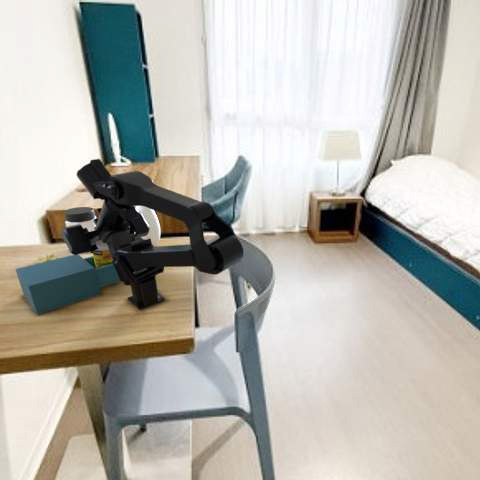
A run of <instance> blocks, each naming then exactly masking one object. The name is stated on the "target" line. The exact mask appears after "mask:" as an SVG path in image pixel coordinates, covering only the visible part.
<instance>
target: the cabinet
mask: <svg viewBox="0 0 480 480" xmlns="http://www.w3.org/2000/svg"><path fill="white" fill-rule="evenodd" d="M15 273H16V275H17V278H18V282H19V285H20V287H21V290H22V293H23V296H24V297H25V299H26V300H27V302H28V303H29V305H30V306H31V308H32V309H33V311H34V312H35V314H36V315H37V316H39V315H41V314H45V313H48V312H50V311H53V310H56V309H59V308H64V307H65V306H70V305H72V304H75V303H78V302H81V301H85V300H88V299H91V298H94V297H97V296H100V295H101V289H100V288H99V285H98V280H97V276H96V271H95V268H94V267H93V266H92V265H91V264H89V263H88V262H87V261H86V260H84V257H82V256H81V254H77V255H74V254H71V255H68V256H67V255H66V256H63V257H59V258H55V259H51V260H47V261H43V262H38V263H35V264H31V265H26V266H23V267H19V268H15Z"/></svg>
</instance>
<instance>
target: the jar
mask: <svg viewBox="0 0 480 480" xmlns="http://www.w3.org/2000/svg"><path fill="white" fill-rule="evenodd" d="M63 214H64V219H65V227H68V226H73V225H77V224H80V225H82V227H83V228H87V229H88V231H89V232H91V231H95V229H94V227H96V225H95V223H94V222H93V221H94V219H96V218H97V216H96V213H95V209H94V208H93V207H90V206H78V207H72V208H68V209H66V210H64V211H63Z"/></svg>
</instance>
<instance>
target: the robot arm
mask: <svg viewBox="0 0 480 480" xmlns="http://www.w3.org/2000/svg"><path fill="white" fill-rule="evenodd" d="M76 177H77V178H78V180H79V181H80V182H81V184H82V185H83V186H84V188H85V190H86V191H87V192H88V193H89V195H90V196H91V197H92V199H93V200H99V199H100V200H101V201H103V202H102V205H101V207H100V208H96V213H97V215H98V217H96V219H94V221H93V222H94V223H95V225H96V227H94V229H95V231H91V232H89V231H88V229H87V228H83V227H82V225H80V224H77V225H73V226H68V227H66V226H63V228H62V230H61V233H60V236H61V237H62V239H63V241H64V244H65V245H66V247H67V248H68V250H69V252H70V253H71V255H77V254H78V255H82V254H84V253H89V254H93V251H94V250H97V249H98V247H97V245H96V243H97V241H100V240H102V242H103V243H107V245H108V248H109V251H110V253H111V257H112V258H113V264H114V267H115V269H116V271H117V274H118V276H119V278H120V281H119V282H122V283H123V286H130V290H131V296H129V297H127V301H128V302H130V304H132V305H133V306H135V308H136V309H138V310H143V309H146V308H149V307H151V306H154V305H156V304H159V303H162V302H164V301H165V302H166V298H165V297H164V296H163V295H162V294H160V293H159V290H158V289H159V288H158V283H157V275H160V274H162V273H164V272H165V271H164V270H165V268H186V267H187V268H191V267H192V268H195V269H196V270H197V271H198V272H200V273H204V274H208V275H212V276H213V275H214V276H215V275H219V274H222V273H223V272H224V271H226V270H228V269H230V268H231V267H233V266H234V265H237V264H238V263H240V262H241V261H242V259H243V257H244V248H243V245H242V243H241V241H240V239H239V238H238V236H237V235H236V233H235V231H234V229H233V228H232V226H231V225H230V224H229V223H228V222H226V221H225V220H224V219H223V218H222V217H220V216H219V215H218V214H217V212H216V211H215V209H214V207H213V206H212V204H210V203H209V202H207V201H202V200H201V201H200V200H197V199H195V198H192V197H189V196H187V195H184V194H181V193H178V192H176V191H173V190H170V189H168V188H165V187H162V186H159V185H157V184H156V183H154V181H153V179H152V178H151V177H150V176H148V175H147V174H145V173H144V172H142V171H140V170H133V171H127V172H123V173H117V174H111V173H110V172H109V170H108V168H106V166H105V165H104V163H103V161H102V160H101V159H100V158H95V159H90V161H89V163H87V164H85V165H83V166H82V167H80V169H78V170H77V172H76ZM136 206H145V207H147V208H150V209H152V210H154V212H157V213H159V214H162V215H165V216H167V217H169V218H172V219H175V220H176V221H179V222H181V223H183V224H185V227H186V228H187V230H188V236H189V244H175V245H161V246H160V245H159V246H158V245H157V246H156V245H155V246H154V245H153V244H152V242H151V238H149V239H146V240H145V239H142V238H141V237H143V236H147V235H148V233H149V230H150V228H149V225H148V224H147V222H146V220H145V219H144V217H143V215H142V214H141V213H140V212H138V211H137V209H136ZM203 225H205V226H206V227H207V228H208V229H210V230H211V231H212V232H213V233H215V234H216V235H217V236H218V237H216V238H213V239H211V240H207V241H206V240H205V236H204V235H205V234H204V228H203Z"/></svg>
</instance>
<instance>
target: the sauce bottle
mask: <svg viewBox="0 0 480 480" xmlns="http://www.w3.org/2000/svg"><path fill="white" fill-rule="evenodd" d="M135 208H136V209H137V211H138V212H140V213H141V214H142V215H143V217H144V219H145V220H146V222H147V224H148V225H149V228H150V230H149V233H148V235H147V236H143V237H141V238H142V239H145V240H146V239H149V238H151V242H152V244H153V245H154V246H155V247H156V246H158V244H159V242H160V239H161V225H160V222H159V218H158V216H157V214H156V211H155V210H152V209H150V208H147V207H145V206H135Z"/></svg>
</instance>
